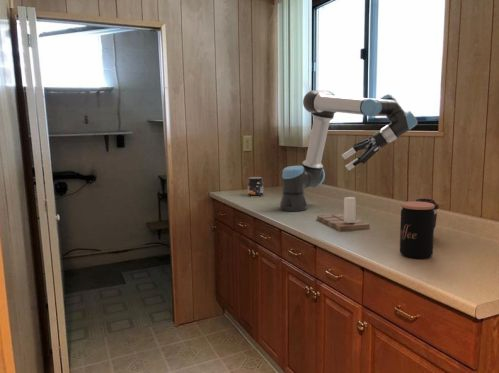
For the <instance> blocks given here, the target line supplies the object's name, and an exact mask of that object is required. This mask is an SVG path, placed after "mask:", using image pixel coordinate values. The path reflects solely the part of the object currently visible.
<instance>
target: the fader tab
mask: <svg viewBox="0 0 499 373" xmlns="http://www.w3.org/2000/svg"><path fill="white" fill-rule="evenodd" d="M356 199H357V198H356V197H355V196H348V197H344V198H343V214H344V222H346V223H355V218H356Z"/></svg>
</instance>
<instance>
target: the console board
mask: <svg viewBox="0 0 499 373" xmlns="http://www.w3.org/2000/svg"><path fill="white" fill-rule="evenodd" d="M316 217H317V218H316V220H317V221H319V222H321V223H323V224H324V225H327V226H329V227H331V228H333V229H335V230H337V231H339V232H349V231H360V230H369V229H370V227H371V226H370V223H368V222H365V221H362V220H360V219H358V218H356V217H355V223H346V222H344V213H334V214H322V215H317V216H316Z"/></svg>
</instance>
